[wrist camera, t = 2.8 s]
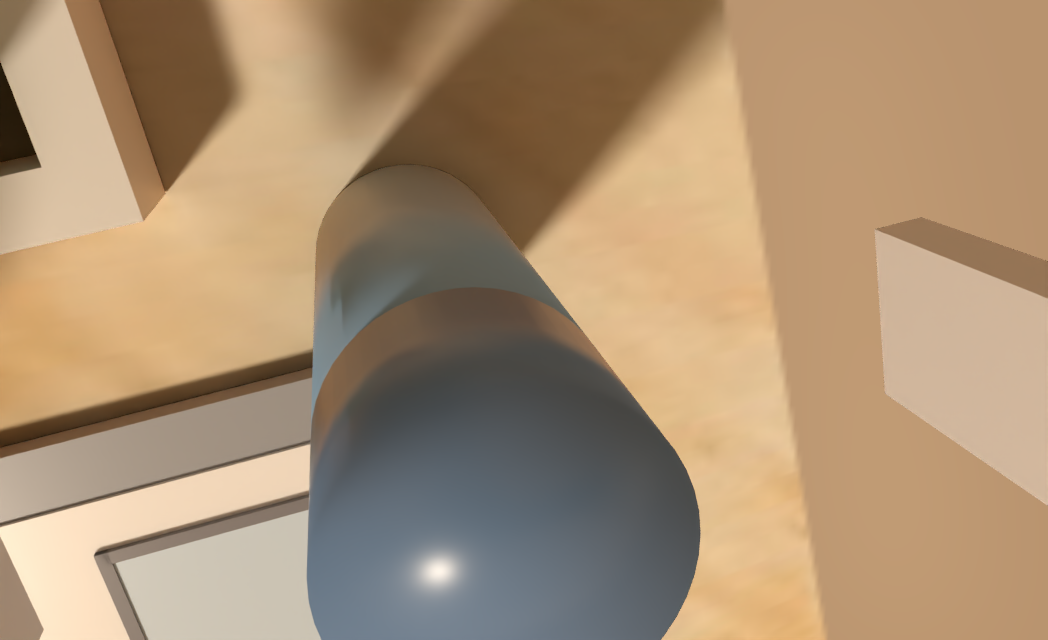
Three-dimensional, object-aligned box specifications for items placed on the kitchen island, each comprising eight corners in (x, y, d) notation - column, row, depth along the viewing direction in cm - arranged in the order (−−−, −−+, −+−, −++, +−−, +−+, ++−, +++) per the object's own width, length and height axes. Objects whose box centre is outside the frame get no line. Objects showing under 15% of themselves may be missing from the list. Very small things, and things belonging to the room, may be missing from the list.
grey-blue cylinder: (293, 188, 19) (253, 447, 8) (477, 145, 20) (673, 334, 9) (343, 359, 21) (366, 773, 10) (513, 315, 21) (721, 662, 10)
